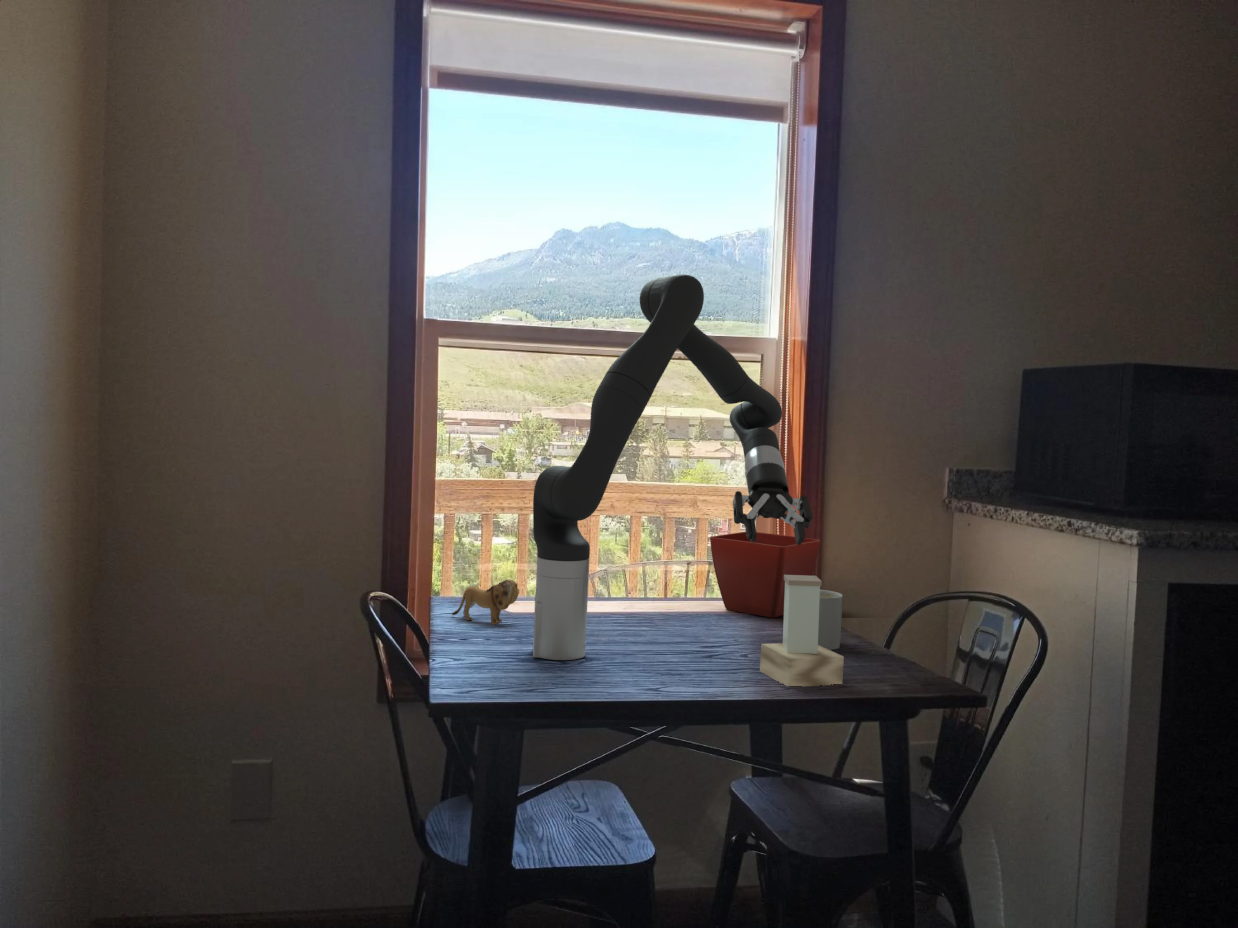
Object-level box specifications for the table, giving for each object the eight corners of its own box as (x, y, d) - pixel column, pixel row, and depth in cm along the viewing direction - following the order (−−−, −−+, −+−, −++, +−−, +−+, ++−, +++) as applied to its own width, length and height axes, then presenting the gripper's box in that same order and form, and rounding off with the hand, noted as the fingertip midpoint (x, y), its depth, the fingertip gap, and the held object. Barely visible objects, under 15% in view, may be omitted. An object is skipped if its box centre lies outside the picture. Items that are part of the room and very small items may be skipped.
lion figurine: (522, 622, 193) (523, 578, 192) (511, 627, 188) (512, 582, 187) (457, 614, 197) (459, 572, 197) (445, 619, 192) (446, 575, 192)
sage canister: (785, 652, 156) (788, 580, 155) (781, 644, 161) (783, 574, 161) (818, 654, 156) (821, 581, 155) (813, 646, 161) (815, 575, 160)
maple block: (787, 689, 152) (789, 658, 152) (759, 672, 162) (761, 643, 162) (842, 686, 156) (843, 656, 155) (811, 670, 165) (813, 642, 165)
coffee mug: (848, 649, 181) (851, 597, 181) (800, 650, 179) (803, 597, 179) (819, 634, 194) (821, 585, 194) (773, 634, 192) (776, 585, 192)
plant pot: (779, 623, 204) (783, 545, 203) (704, 609, 215) (708, 536, 215) (818, 611, 219) (822, 539, 218) (746, 599, 231) (749, 531, 230)
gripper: (733, 458, 178) (742, 525, 167) (806, 463, 179) (821, 529, 168) (725, 485, 183) (734, 551, 172) (797, 489, 185) (810, 555, 174)
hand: (777, 540), depth 170 cm, fingers open, 8 cm apart
